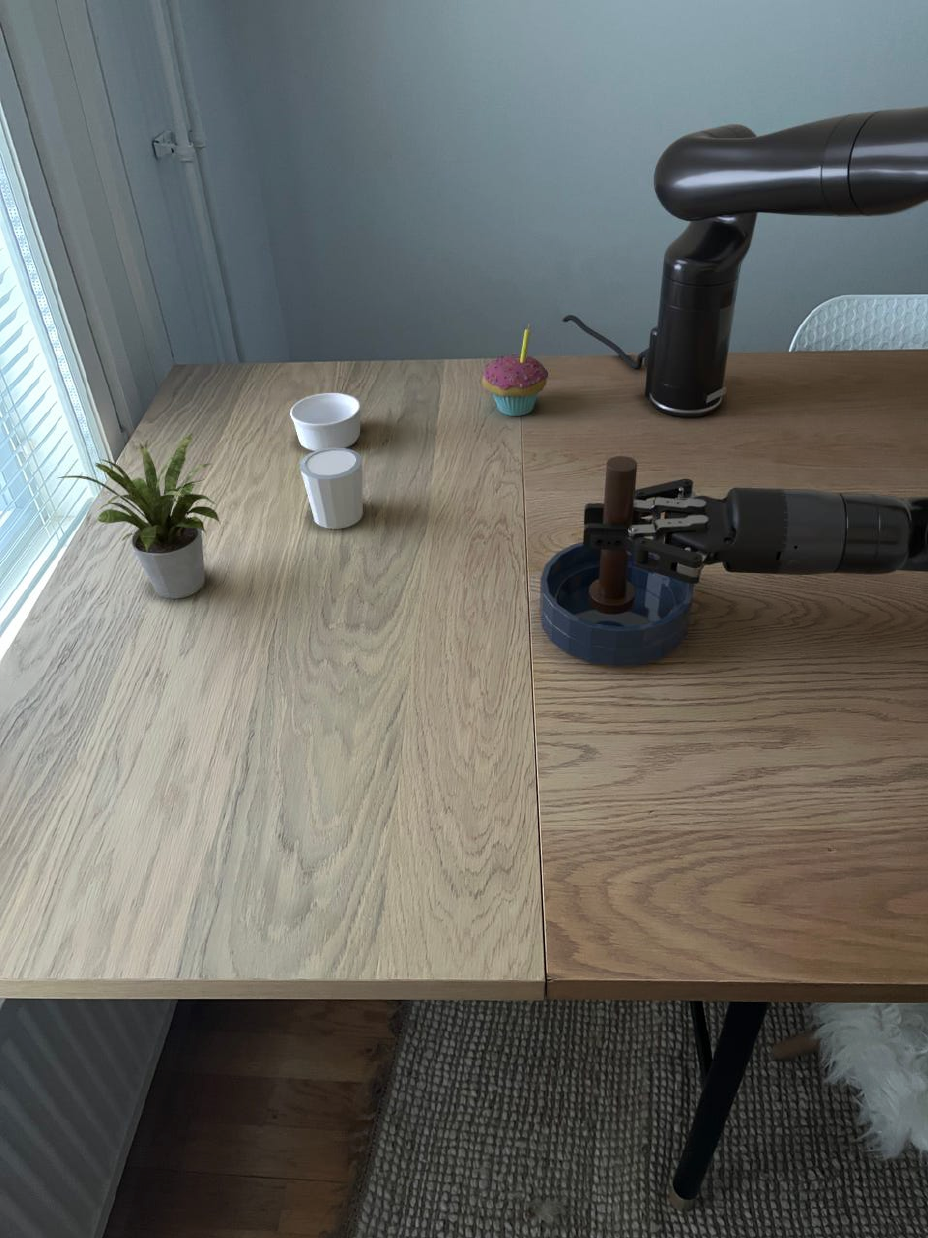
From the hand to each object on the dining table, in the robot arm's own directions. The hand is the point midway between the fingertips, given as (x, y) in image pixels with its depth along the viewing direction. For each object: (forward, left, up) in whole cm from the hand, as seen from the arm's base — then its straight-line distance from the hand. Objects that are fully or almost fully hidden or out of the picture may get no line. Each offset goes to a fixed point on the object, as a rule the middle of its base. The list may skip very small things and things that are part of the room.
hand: (584, 525), depth 85 cm
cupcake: (-38, +24, -11) cm, 46 cm away
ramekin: (-48, +1, -11) cm, 49 cm away
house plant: (-32, -29, -11) cm, 44 cm away
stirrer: (+2, +2, -8) cm, 9 cm away
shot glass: (-32, -8, -11) cm, 35 cm away
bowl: (+2, +2, -11) cm, 12 cm away
